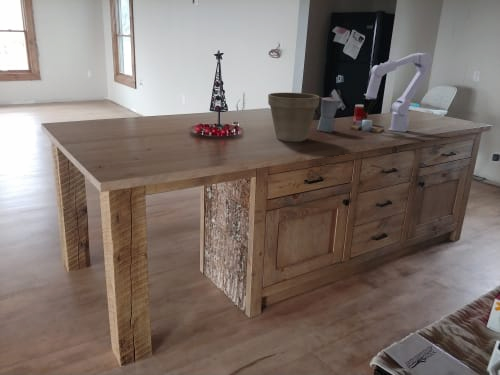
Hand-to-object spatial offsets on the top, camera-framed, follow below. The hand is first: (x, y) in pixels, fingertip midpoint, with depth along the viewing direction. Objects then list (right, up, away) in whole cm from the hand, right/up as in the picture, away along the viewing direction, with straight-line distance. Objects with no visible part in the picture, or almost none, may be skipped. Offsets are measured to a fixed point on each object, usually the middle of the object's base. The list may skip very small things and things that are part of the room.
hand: (366, 111), depth 253 cm
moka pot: (-25, -12, -5) cm, 28 cm away
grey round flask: (-1, -10, +3) cm, 10 cm away
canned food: (+1, -4, +21) cm, 21 cm away
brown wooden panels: (+1, -10, +4) cm, 10 cm away
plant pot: (-45, -18, -28) cm, 56 cm away
